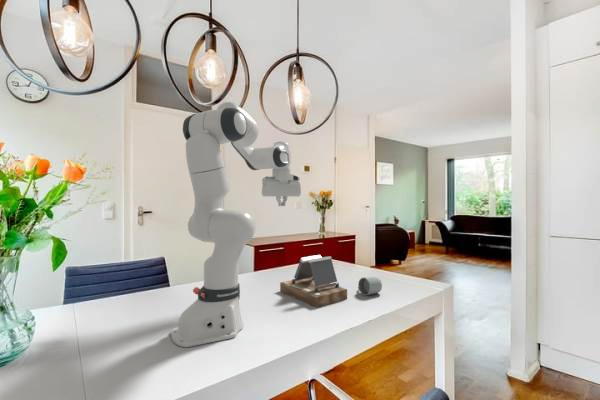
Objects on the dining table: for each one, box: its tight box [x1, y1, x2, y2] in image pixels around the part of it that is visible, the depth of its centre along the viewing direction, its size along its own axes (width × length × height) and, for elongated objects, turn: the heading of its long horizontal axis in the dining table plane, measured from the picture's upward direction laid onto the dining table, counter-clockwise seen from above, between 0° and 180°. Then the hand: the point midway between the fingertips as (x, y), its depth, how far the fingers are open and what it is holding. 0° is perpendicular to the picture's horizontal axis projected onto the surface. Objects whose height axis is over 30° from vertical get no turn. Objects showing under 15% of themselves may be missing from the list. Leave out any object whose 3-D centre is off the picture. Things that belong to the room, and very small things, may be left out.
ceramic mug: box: [357, 276, 383, 296], centre depth 136 cm, size 11×8×8 cm
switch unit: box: [279, 277, 348, 308], centre depth 133 cm, size 17×26×6 cm, turn 37°
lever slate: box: [309, 256, 338, 287], centre depth 130 cm, size 11×2×11 cm, turn 127°
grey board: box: [293, 254, 322, 280], centre depth 138 cm, size 11×2×11 cm, turn 127°
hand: (281, 206), depth 143 cm, fingers closed
